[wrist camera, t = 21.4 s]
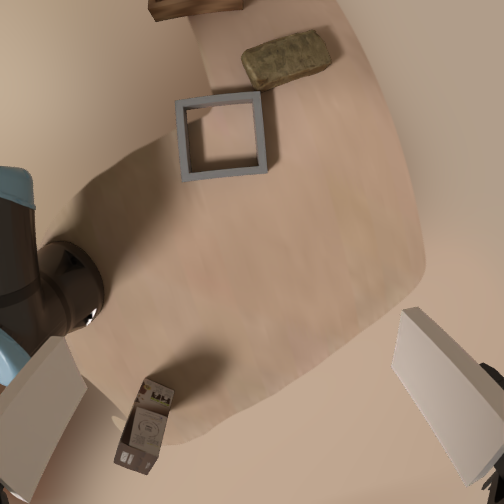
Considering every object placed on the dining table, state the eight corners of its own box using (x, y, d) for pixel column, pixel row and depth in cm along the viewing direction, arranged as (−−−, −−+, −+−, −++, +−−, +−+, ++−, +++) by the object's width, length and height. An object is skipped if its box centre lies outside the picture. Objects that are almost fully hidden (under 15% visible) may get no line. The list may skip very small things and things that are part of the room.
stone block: (238, 64, 34) (238, 51, 29) (309, 39, 33) (318, 25, 28) (256, 97, 36) (259, 87, 31) (328, 70, 35) (339, 59, 30)
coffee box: (143, 376, 48) (119, 441, 32) (175, 390, 49) (160, 457, 33) (133, 403, 50) (111, 463, 34) (162, 415, 51) (147, 477, 36)
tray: (185, 181, 39) (182, 182, 36) (178, 104, 35) (174, 100, 33) (265, 172, 39) (267, 173, 36) (258, 95, 36) (260, 91, 33)
